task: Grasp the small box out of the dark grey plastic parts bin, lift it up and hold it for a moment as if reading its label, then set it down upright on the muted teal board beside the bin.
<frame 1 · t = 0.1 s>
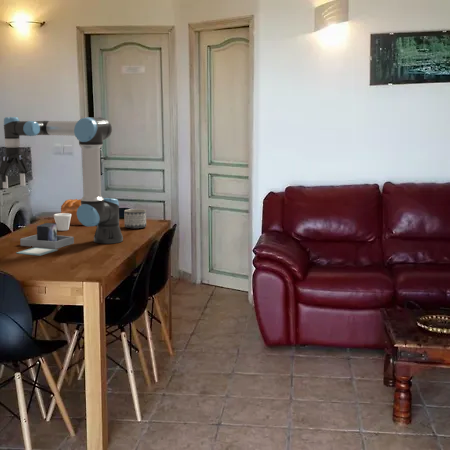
hand: (14, 187, 350), 28 cm above the table, fingers open, 13 cm apart
bread: (82, 224, 404), on the table
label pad: (37, 251, 321), on the table
parts bin: (47, 244, 339), on the table
small box: (47, 244, 339), resting in parts bin
cup: (63, 230, 381), on the table
planter: (135, 228, 390), on the table
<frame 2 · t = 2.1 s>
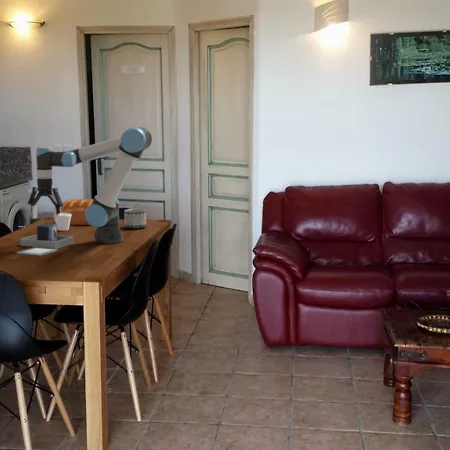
hand: (45, 219, 337), 13 cm above the table, fingers open, 13 cm apart
nothing on the table moved.
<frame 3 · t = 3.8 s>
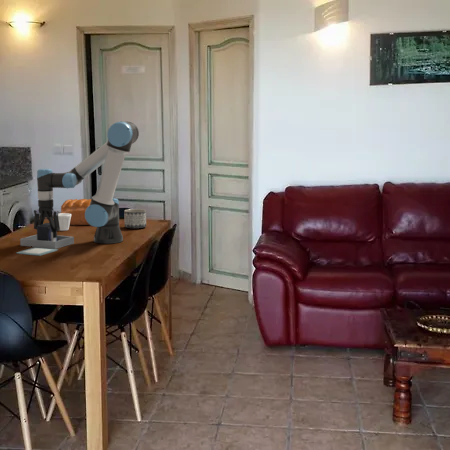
hand: (47, 243, 339), 1 cm above the table, fingers closed on small box, 7 cm apart
small box: (47, 244, 339), resting in parts bin, touching gripper
everything else where it was.
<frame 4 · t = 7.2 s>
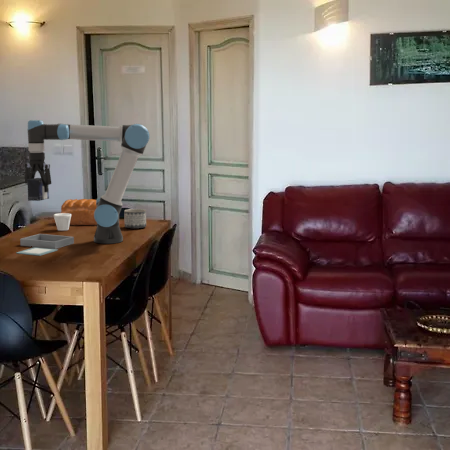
hand: (38, 198, 327), 25 cm above the table, fingers closed on small box, 7 cm apart
small box: (38, 200, 327), point 24 cm above the table, touching gripper
everything else where it was.
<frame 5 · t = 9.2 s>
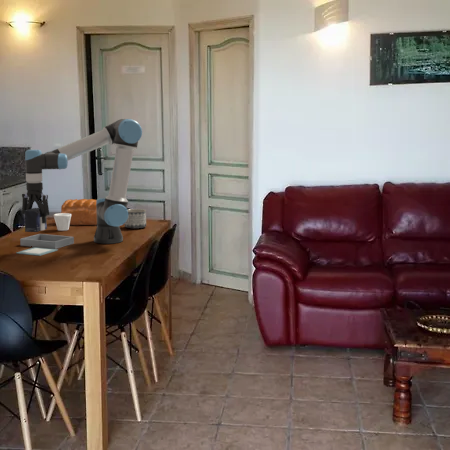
hand: (36, 229, 319), 11 cm above the table, fingers closed on small box, 7 cm apart
small box: (36, 230, 319), point 10 cm above the table, touching gripper
everything else where it was.
when the fingers open (2 cm above the table, at t = 11.0 s): small box drops 1 cm, resting on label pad.
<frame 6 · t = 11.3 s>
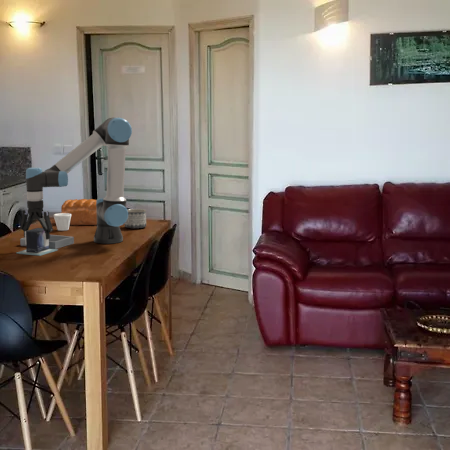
hand: (37, 245, 321), 3 cm above the table, fingers open, 10 cm apart
small box: (38, 251, 321), resting on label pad
everything else where it was.
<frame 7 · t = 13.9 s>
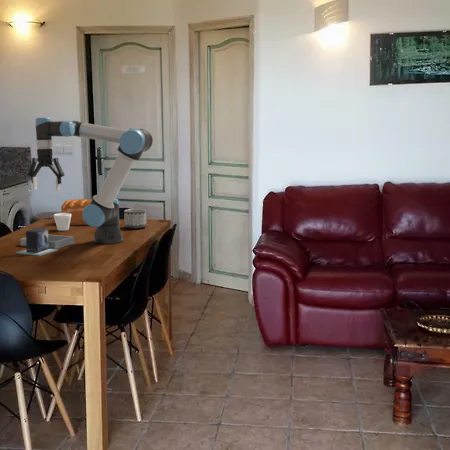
hand: (46, 190, 337), 28 cm above the table, fingers open, 13 cm apart
nothing on the table moved.
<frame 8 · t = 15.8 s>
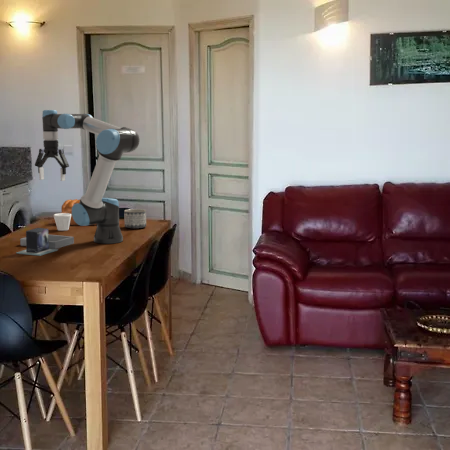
hand: (52, 180, 349), 32 cm above the table, fingers open, 13 cm apart
nothing on the table moved.
at the end: small box inside the target area on the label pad (0.3 cm from its centre), point 0.3 cm above the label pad's base; small box tilted 0°; the gripper is holding nothing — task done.
